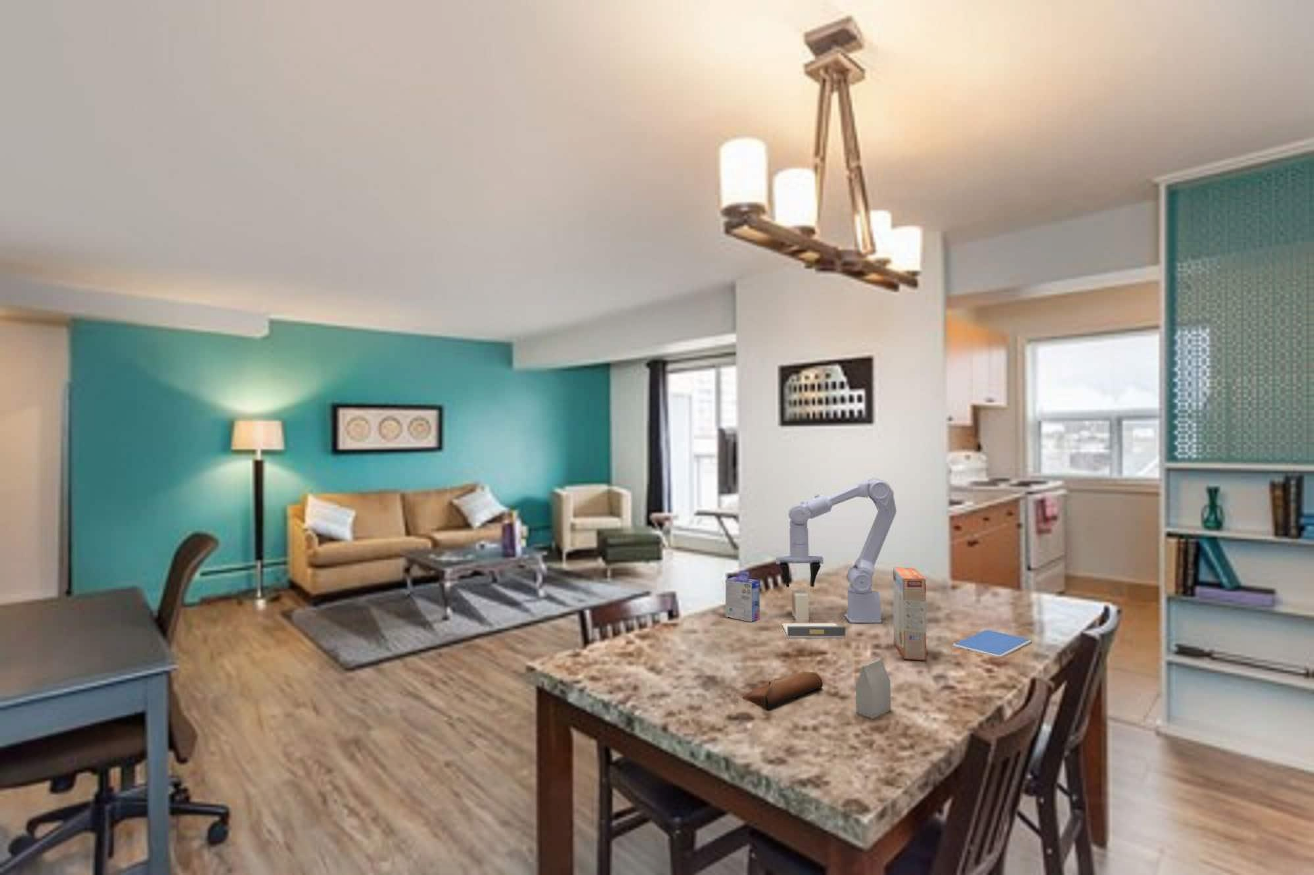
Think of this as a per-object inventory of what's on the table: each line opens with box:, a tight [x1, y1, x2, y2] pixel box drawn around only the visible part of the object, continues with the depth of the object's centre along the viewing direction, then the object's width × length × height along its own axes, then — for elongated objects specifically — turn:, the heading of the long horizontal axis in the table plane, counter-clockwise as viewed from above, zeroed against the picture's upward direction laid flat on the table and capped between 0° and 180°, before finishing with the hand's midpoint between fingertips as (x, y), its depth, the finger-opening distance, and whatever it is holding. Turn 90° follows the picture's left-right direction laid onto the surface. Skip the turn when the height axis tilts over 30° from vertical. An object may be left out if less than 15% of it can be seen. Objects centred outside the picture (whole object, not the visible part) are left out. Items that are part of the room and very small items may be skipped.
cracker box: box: [892, 567, 927, 661], centre depth 163 cm, size 14×6×21 cm, turn 168°
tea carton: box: [791, 589, 810, 622], centre depth 195 cm, size 4×7×8 cm, turn 177°
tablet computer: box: [952, 629, 1032, 658], centre depth 167 cm, size 19×13×1 cm, turn 127°
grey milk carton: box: [855, 658, 892, 719], centre depth 128 cm, size 4×7×10 cm, turn 128°
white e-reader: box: [781, 622, 846, 639], centre depth 181 cm, size 16×12×3 cm
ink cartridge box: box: [725, 570, 761, 623], centre depth 196 cm, size 10×6×14 cm, turn 53°
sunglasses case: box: [742, 671, 824, 711], centre depth 137 cm, size 18×7×7 cm, turn 127°
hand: (799, 586), depth 195 cm, fingers open, 7 cm apart
